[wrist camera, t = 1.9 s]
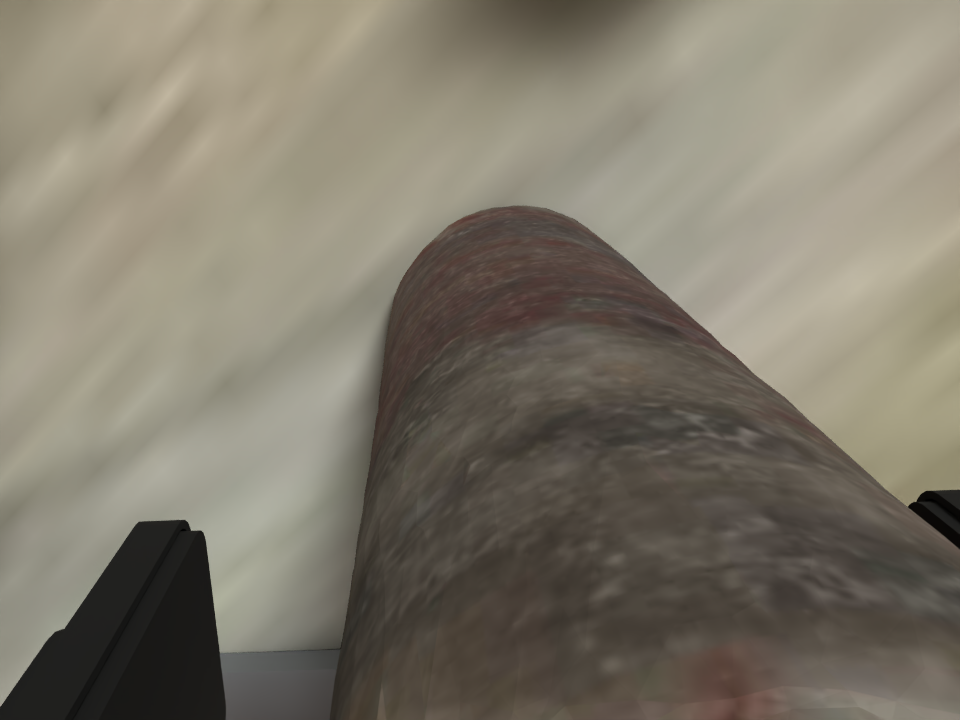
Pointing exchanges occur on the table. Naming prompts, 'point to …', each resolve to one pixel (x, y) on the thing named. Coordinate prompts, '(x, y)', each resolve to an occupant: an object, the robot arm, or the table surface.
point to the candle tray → (279, 684)
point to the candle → (618, 514)
